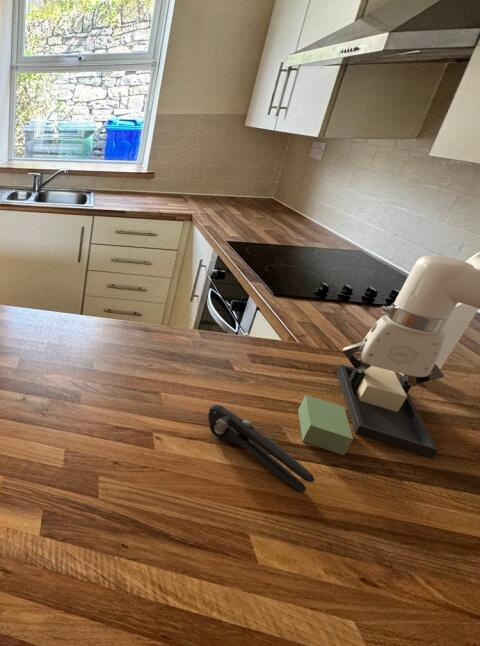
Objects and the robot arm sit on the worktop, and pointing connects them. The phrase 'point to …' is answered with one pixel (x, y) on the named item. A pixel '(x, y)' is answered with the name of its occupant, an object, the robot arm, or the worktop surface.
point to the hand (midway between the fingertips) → (374, 390)
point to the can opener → (240, 433)
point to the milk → (454, 330)
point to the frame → (387, 420)
